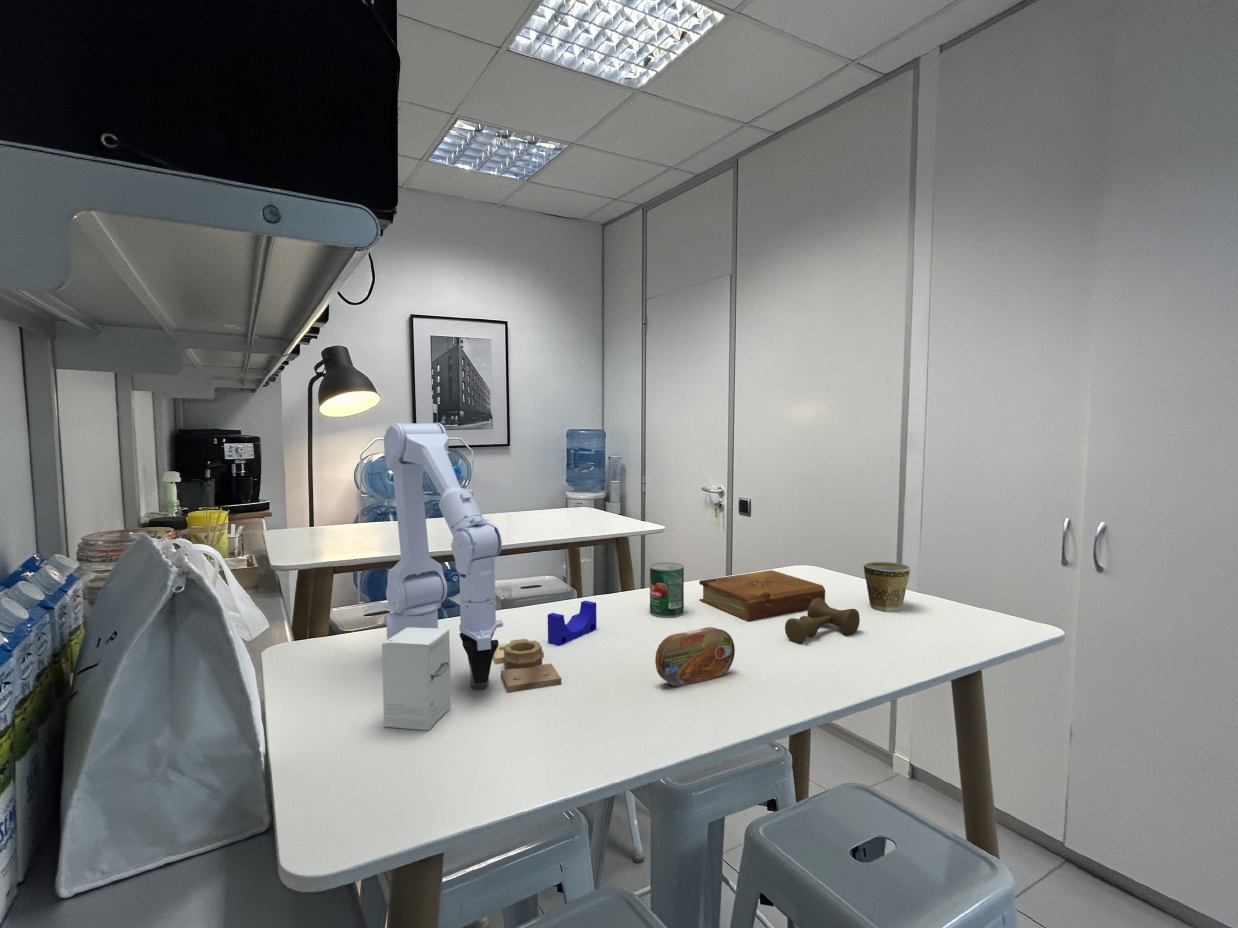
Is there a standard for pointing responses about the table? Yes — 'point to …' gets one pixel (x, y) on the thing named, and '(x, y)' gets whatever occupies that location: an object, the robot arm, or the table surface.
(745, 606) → the diary
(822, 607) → the kendama
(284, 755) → the table surface
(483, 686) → the grey cylinder
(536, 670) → the hinge plate
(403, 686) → the supplement box
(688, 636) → the tin
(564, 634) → the blue u-shaped block
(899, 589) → the ceramic cup
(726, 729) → the table surface
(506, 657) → the hinge leaf
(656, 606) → the canned tomato
